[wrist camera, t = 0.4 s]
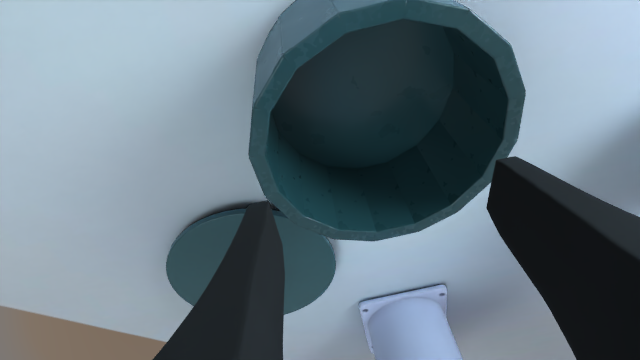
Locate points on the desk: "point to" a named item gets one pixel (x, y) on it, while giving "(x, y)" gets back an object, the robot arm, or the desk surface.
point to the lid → (214, 240)
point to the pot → (381, 114)
